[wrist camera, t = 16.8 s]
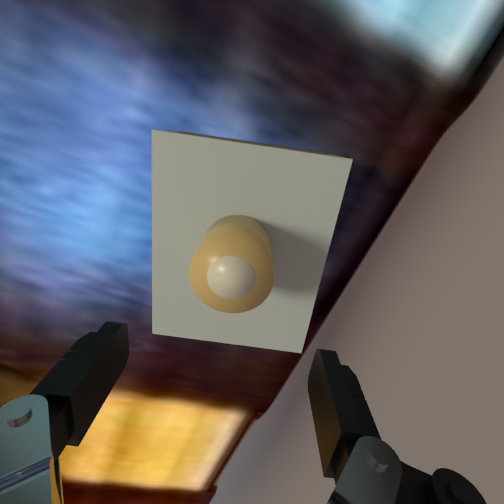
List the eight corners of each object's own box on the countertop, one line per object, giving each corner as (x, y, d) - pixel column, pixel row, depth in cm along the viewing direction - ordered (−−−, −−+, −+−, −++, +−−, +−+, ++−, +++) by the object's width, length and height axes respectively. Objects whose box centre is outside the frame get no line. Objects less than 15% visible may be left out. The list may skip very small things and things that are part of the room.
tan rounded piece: (206, 209, 22) (191, 231, 17) (277, 220, 22) (281, 246, 17) (201, 272, 24) (186, 307, 19) (265, 282, 24) (265, 319, 20)
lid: (155, 129, 20) (151, 129, 20) (349, 158, 21) (352, 159, 20) (155, 328, 28) (152, 333, 27) (300, 347, 28) (301, 353, 27)
